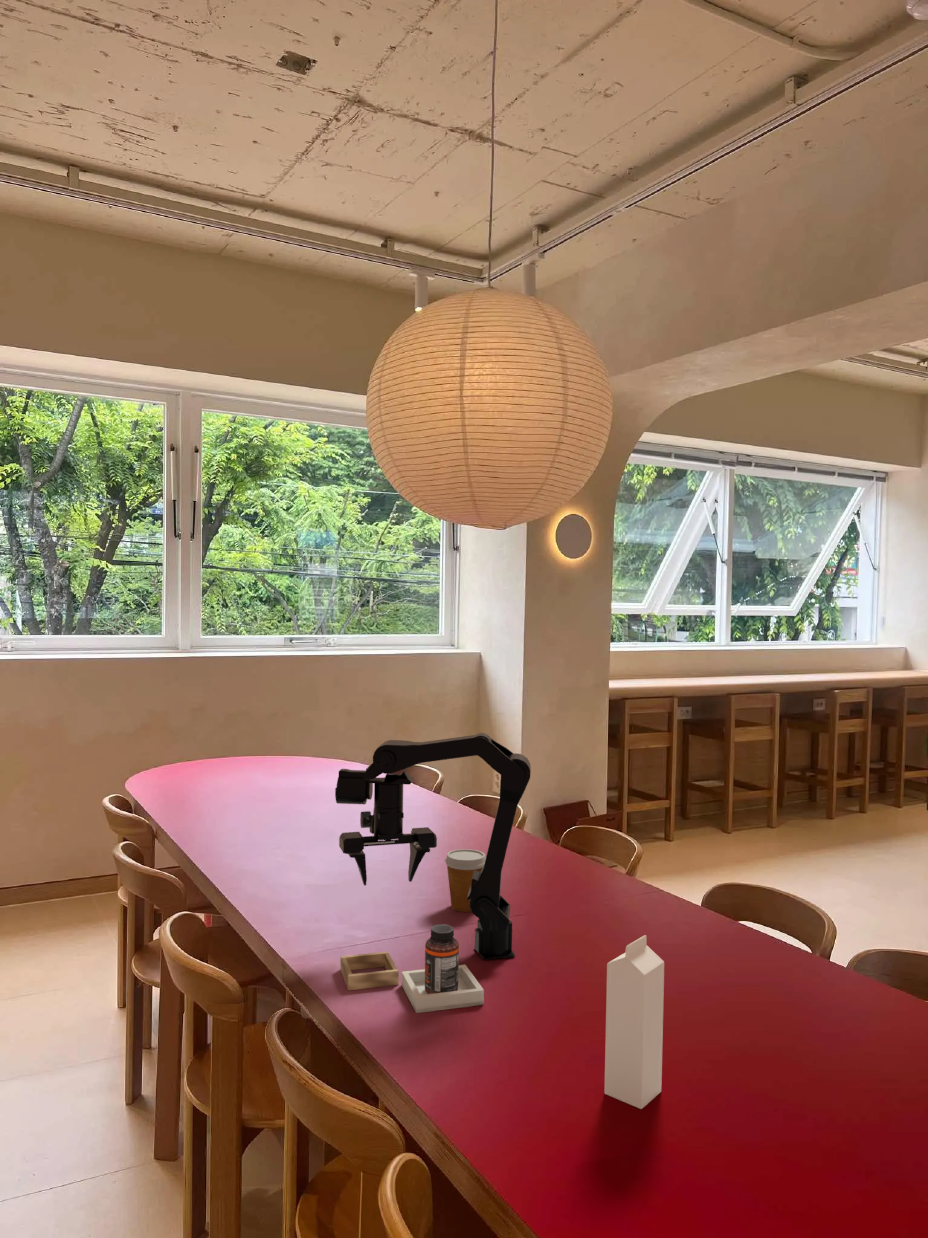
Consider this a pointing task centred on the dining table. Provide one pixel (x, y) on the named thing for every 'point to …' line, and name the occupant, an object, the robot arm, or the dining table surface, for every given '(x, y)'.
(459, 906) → the disposable coffee cup
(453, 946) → the supplement bottle
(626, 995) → the milk
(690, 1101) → the dining table surface
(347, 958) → the collar
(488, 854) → the robot arm
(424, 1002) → the tray
